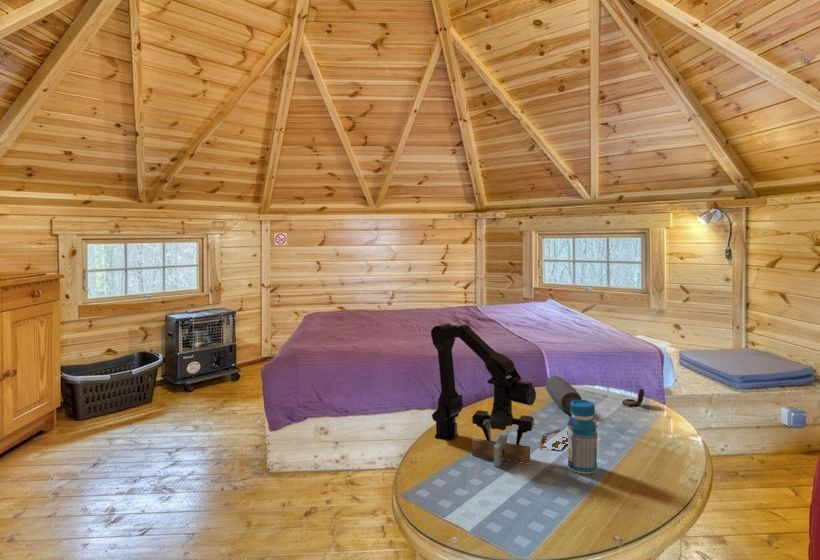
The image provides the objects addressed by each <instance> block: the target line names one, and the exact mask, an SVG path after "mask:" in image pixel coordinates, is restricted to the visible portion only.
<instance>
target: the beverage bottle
mask: <svg viewBox="0 0 820 560" xmlns="http://www.w3.org/2000/svg"><path fill="white" fill-rule="evenodd" d="M595 407H596V406H595V403H593V401H590V400H587V399H582V400H573V401H571V404H570V412H571V413H570V414H571V416H570V417H569V419H568V421H567V426H568V427H567V428H569V429H568V431H567V435H568V445H567V451H568V453H567V467H568V469H569V470H570V471H572V472H574V473H576V472H577V473H576V474H580V473H581V474H582V475H591V473H592V474H594V473H595V472H596V471H597V469H598V464H597V461H598V459H597V453H598V452H597V450H598V449H597V448H598V447H597V446H598V445H597V444H598V442H597V441H598V438H599V437H598V432H597V429H598V425H597V424H598V423H597V422H596V419H595V418H594V416H595V410H596V409H595Z"/></svg>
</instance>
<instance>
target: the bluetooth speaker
mask: <svg viewBox="0 0 820 560" xmlns="http://www.w3.org/2000/svg"><path fill="white" fill-rule="evenodd" d="M544 386H545V390H546V392H547V393H548V394H549V396H550V398H551V399H552V400H553V402H554V403H555V404H557V406H558V405H559V406H560V407H561V408H562V409H561V408H560V407H559V406H558V407H559V408H560V409H561V410H562V411H565V412H567V413H570V414H571V412H570V404H571V401H573V400H583V399H582V397H581V395H580V394H579V392H578V391H577V390H576V389H575V388H574V387H573V386H572V385H571V384H570V383H569V382H567V381H566V380H565V379H563V378H562V377H561V376H558V375H552V376H550V377H548V379H547V380H546V382H545V385H544Z"/></svg>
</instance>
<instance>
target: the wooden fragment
mask: <svg viewBox="0 0 820 560" xmlns="http://www.w3.org/2000/svg"><path fill="white" fill-rule="evenodd" d="M560 430H561V429H557V430H553V431H550V432H547V433H544V434H543V435H542V438H541V442H540V444H539V448H547V447H546V446H543V445H544V443H545V442H546V441H545V440H547V439H546V438H547V436H548V435H551V434H552V433H554V434H555V433H558V432H559V431H560ZM544 435H547V436H544ZM562 438H565V437H562ZM565 442H568V438H566V440H563V441H562V443H561V442H559V441H556V442H555V443H553V444H552V447H555V448H558V445H559V444H560V443H561V444H566V443H565ZM542 444H543V445H542ZM539 448H538V449H539Z"/></svg>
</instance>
